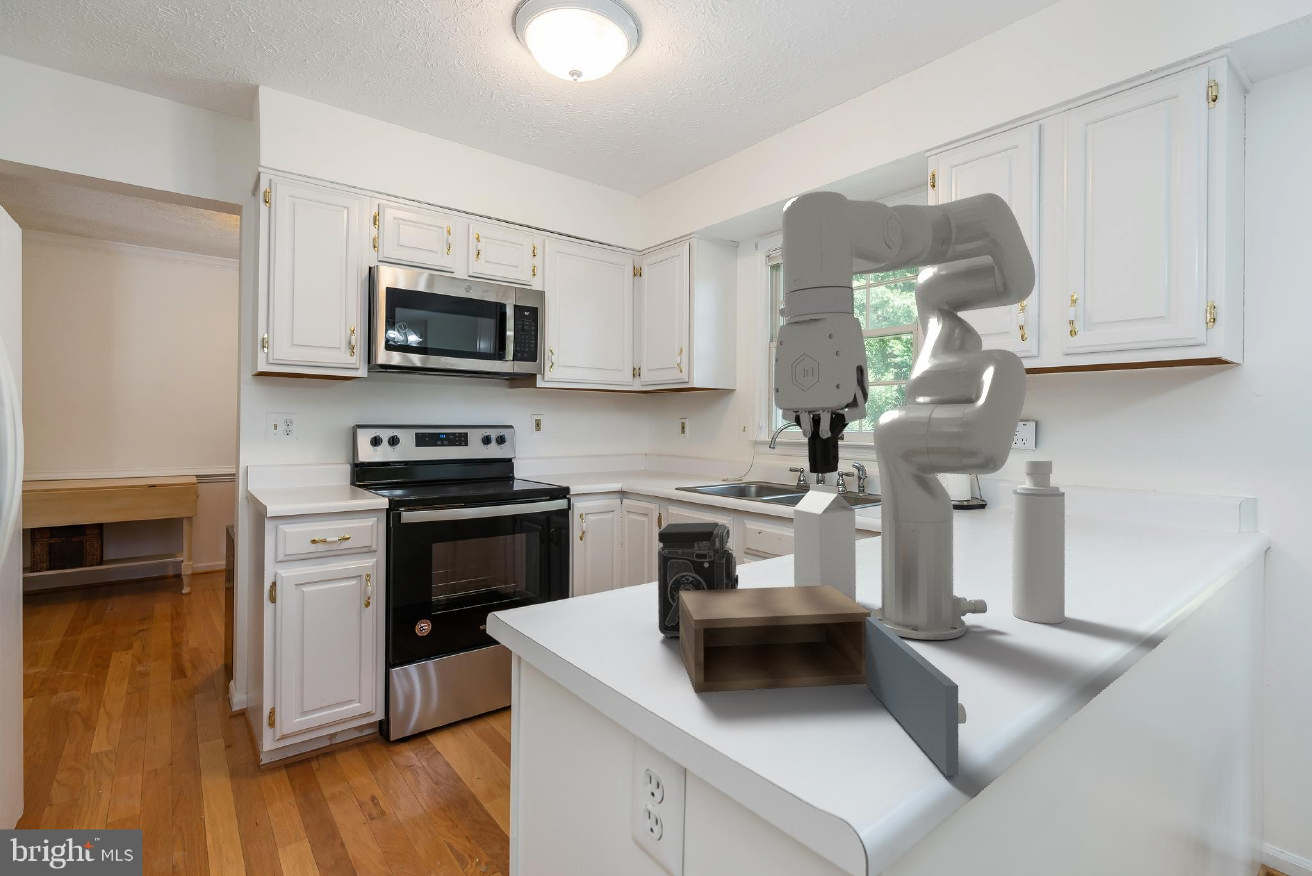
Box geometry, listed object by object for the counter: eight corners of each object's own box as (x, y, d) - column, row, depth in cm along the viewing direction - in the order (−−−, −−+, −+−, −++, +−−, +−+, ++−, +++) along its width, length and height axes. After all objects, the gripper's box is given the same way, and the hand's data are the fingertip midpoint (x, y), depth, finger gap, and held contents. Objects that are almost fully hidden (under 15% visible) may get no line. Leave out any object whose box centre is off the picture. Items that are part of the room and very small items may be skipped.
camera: (734, 646, 83) (733, 533, 83) (656, 642, 85) (655, 531, 85) (740, 622, 93) (739, 521, 93) (670, 618, 95) (669, 519, 95)
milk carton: (820, 608, 100) (820, 488, 99) (793, 597, 106) (793, 484, 106) (856, 603, 103) (855, 486, 102) (827, 592, 109) (827, 482, 109)
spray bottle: (1036, 608, 98) (1036, 448, 98) (1075, 621, 92) (1076, 449, 91) (1001, 612, 97) (1001, 449, 96) (1039, 625, 90) (1039, 450, 90)
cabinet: (830, 645, 83) (830, 585, 83) (870, 682, 71) (870, 612, 71) (679, 653, 81) (679, 590, 81) (694, 692, 69) (694, 619, 69)
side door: (866, 683, 70) (865, 617, 70) (887, 683, 70) (887, 616, 70) (946, 776, 51) (946, 685, 51) (975, 775, 52) (975, 685, 51)
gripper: (746, 317, 74) (752, 472, 75) (857, 296, 63) (862, 480, 64) (788, 320, 79) (792, 466, 80) (898, 301, 67) (902, 472, 68)
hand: (823, 472), depth 72 cm, fingers closed
